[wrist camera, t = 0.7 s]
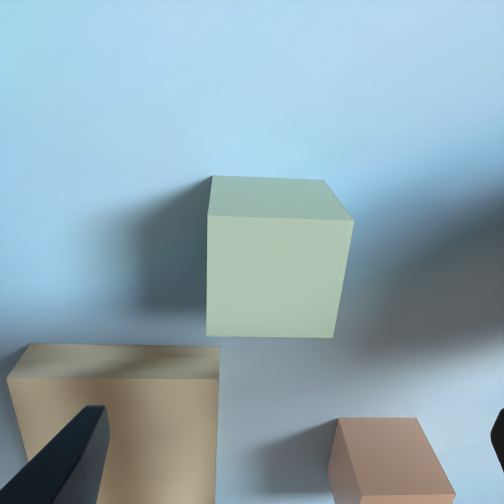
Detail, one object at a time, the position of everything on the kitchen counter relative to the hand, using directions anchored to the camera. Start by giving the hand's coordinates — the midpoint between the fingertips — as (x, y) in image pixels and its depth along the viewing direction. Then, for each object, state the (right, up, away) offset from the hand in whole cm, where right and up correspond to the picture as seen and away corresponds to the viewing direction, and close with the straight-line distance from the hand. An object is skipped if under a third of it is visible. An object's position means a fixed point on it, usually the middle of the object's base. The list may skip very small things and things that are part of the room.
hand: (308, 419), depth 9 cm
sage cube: (-1, +5, +10) cm, 11 cm away
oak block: (-8, -5, +15) cm, 18 cm away
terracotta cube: (+6, -9, +17) cm, 20 cm away
